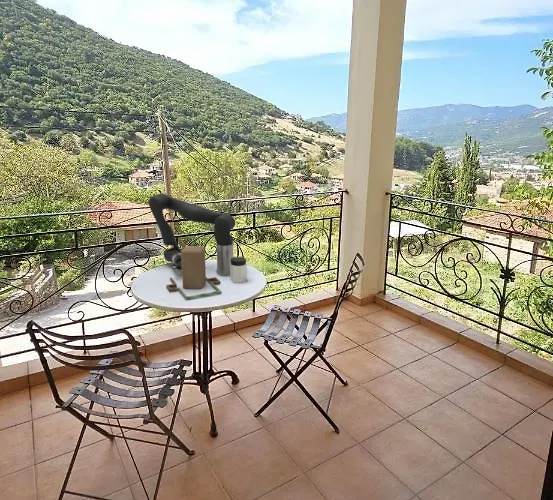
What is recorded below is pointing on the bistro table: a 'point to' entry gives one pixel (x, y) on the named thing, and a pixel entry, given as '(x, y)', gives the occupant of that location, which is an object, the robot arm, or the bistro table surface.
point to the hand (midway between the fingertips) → (188, 269)
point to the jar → (238, 270)
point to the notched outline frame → (211, 281)
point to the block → (193, 267)
